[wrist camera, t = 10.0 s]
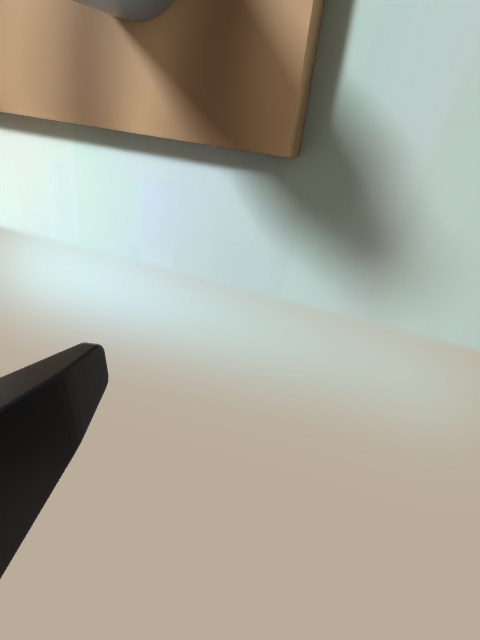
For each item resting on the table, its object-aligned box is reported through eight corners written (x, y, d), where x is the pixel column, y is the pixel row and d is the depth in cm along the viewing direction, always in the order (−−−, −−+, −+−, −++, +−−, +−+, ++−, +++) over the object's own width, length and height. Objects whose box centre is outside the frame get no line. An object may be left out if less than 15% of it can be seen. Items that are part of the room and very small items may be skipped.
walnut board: (349, -153, 16) (341, -180, 14) (298, 156, 20) (288, 157, 18) (-42, -134, 21) (-73, -151, 20) (-18, 106, 25) (-42, 105, 24)
